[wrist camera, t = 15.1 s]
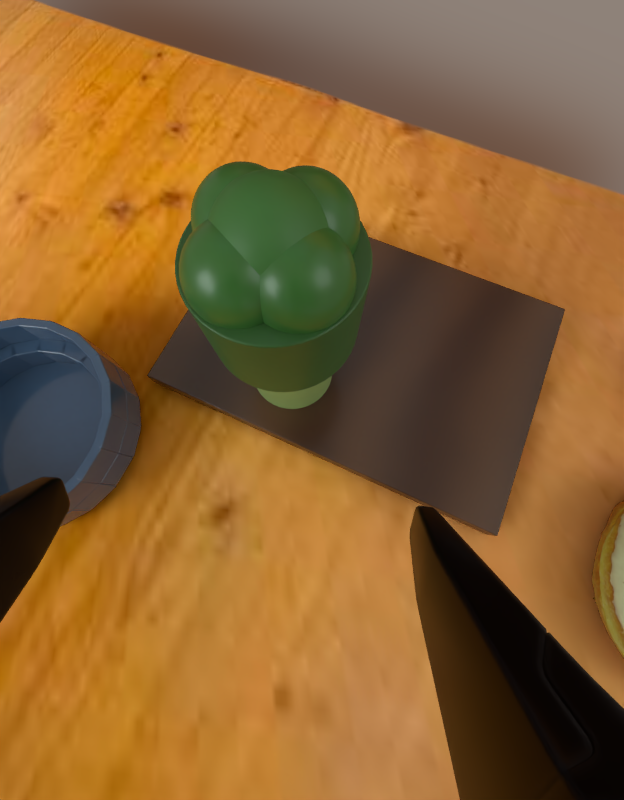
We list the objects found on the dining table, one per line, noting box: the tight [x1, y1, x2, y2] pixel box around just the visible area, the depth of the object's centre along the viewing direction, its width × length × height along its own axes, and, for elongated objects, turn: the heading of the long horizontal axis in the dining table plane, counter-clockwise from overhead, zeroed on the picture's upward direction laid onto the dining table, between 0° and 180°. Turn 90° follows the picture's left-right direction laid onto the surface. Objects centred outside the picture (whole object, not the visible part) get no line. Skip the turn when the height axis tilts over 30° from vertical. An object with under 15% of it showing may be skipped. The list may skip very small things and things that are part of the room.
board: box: [148, 237, 565, 536], centre depth 23 cm, size 22×15×1 cm
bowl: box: [0, 318, 141, 526], centre depth 21 cm, size 11×11×4 cm
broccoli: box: [175, 162, 373, 409], centre depth 16 cm, size 7×7×13 cm
